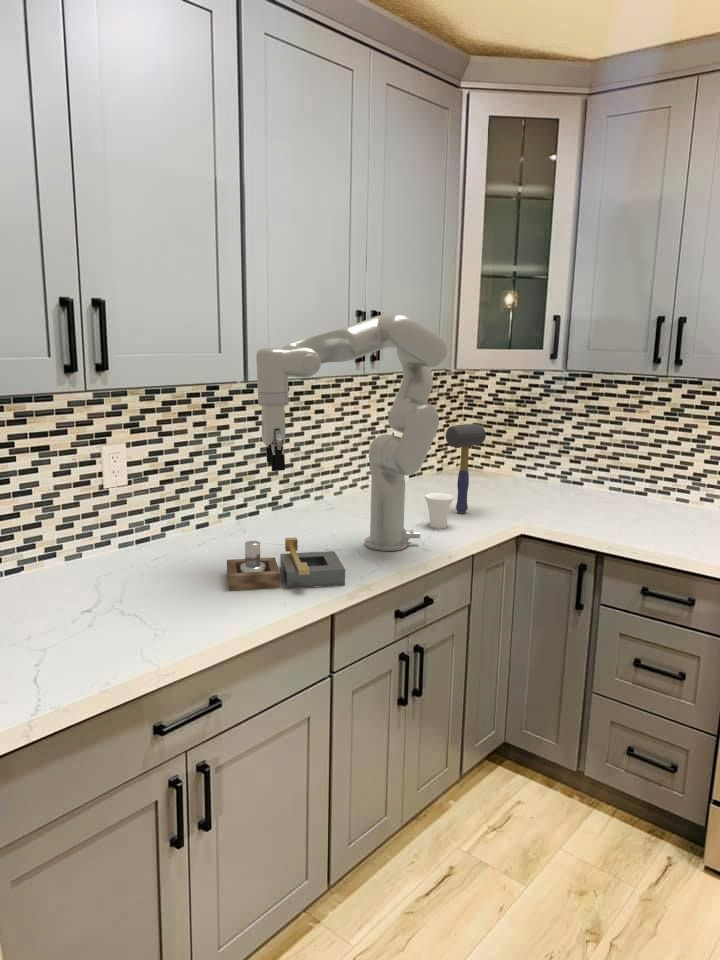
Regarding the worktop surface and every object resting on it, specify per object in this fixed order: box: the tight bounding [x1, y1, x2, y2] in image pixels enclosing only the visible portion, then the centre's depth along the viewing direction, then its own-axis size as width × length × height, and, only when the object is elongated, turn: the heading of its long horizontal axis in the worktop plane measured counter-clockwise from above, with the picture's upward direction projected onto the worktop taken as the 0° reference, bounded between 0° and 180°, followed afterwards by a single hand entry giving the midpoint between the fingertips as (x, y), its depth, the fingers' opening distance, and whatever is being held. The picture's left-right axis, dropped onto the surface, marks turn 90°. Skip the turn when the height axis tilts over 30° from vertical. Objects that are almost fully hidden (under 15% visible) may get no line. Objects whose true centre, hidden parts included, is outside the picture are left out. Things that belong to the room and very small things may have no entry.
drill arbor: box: [240, 540, 265, 573], centre depth 173 cm, size 6×6×10 cm
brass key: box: [284, 537, 310, 575], centre depth 175 cm, size 3×20×3 cm, turn 13°
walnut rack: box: [226, 556, 281, 592], centre depth 174 cm, size 12×12×4 cm
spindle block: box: [279, 550, 346, 590], centre depth 177 cm, size 14×14×4 cm
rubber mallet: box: [445, 423, 487, 514], centre depth 236 cm, size 12×8×30 cm, turn 123°
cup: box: [424, 492, 454, 530], centre depth 222 cm, size 9×9×10 cm
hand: (275, 466), depth 181 cm, fingers open, 9 cm apart
